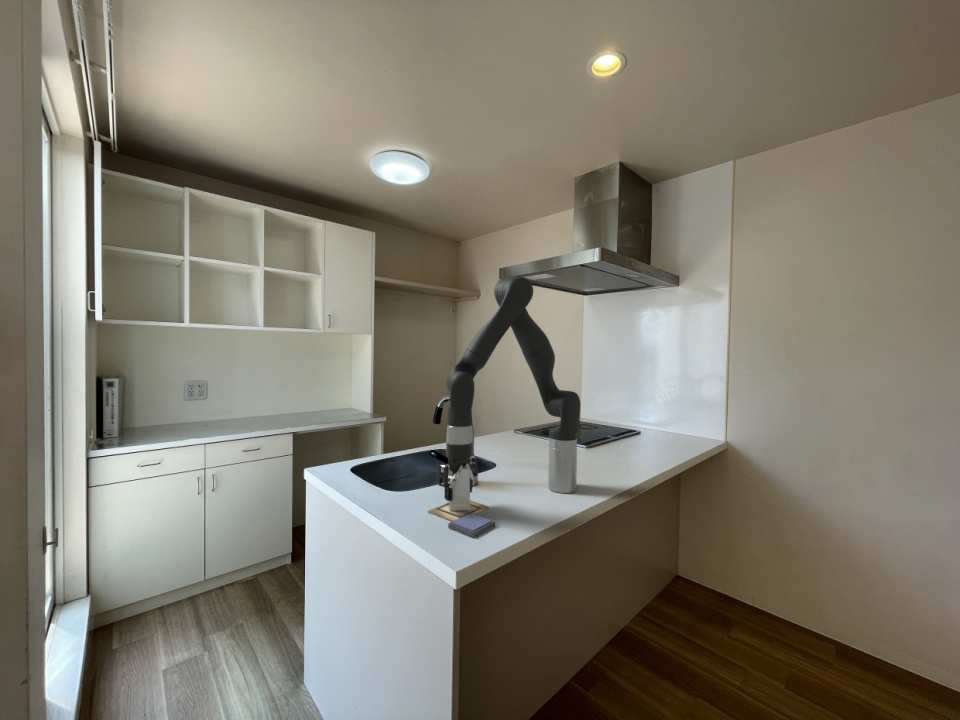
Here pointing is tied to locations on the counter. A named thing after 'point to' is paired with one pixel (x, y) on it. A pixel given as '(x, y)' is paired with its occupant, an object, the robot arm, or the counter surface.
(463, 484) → the skincare box
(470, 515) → the ink pad
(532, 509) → the counter surface
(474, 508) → the print sheet
